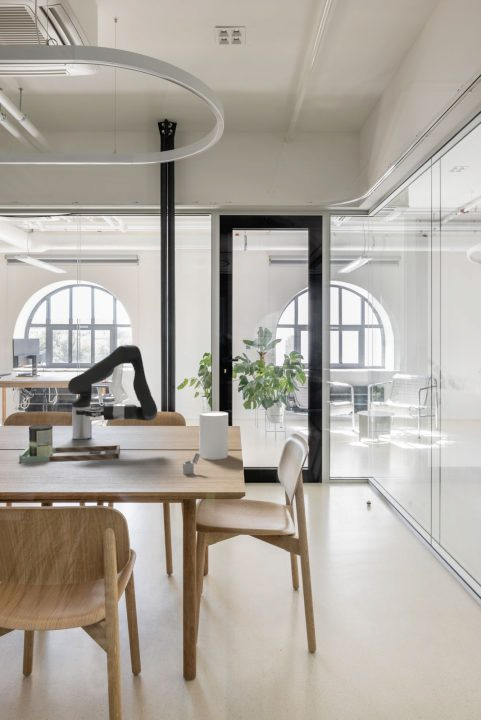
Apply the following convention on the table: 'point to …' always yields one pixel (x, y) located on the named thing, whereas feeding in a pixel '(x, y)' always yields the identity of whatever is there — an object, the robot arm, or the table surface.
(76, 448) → the walnut lane
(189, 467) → the lighter
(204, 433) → the canister
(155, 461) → the table surface
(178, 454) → the table surface
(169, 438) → the table surface
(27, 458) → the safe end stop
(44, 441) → the coffee can
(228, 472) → the table surface
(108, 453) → the mats
